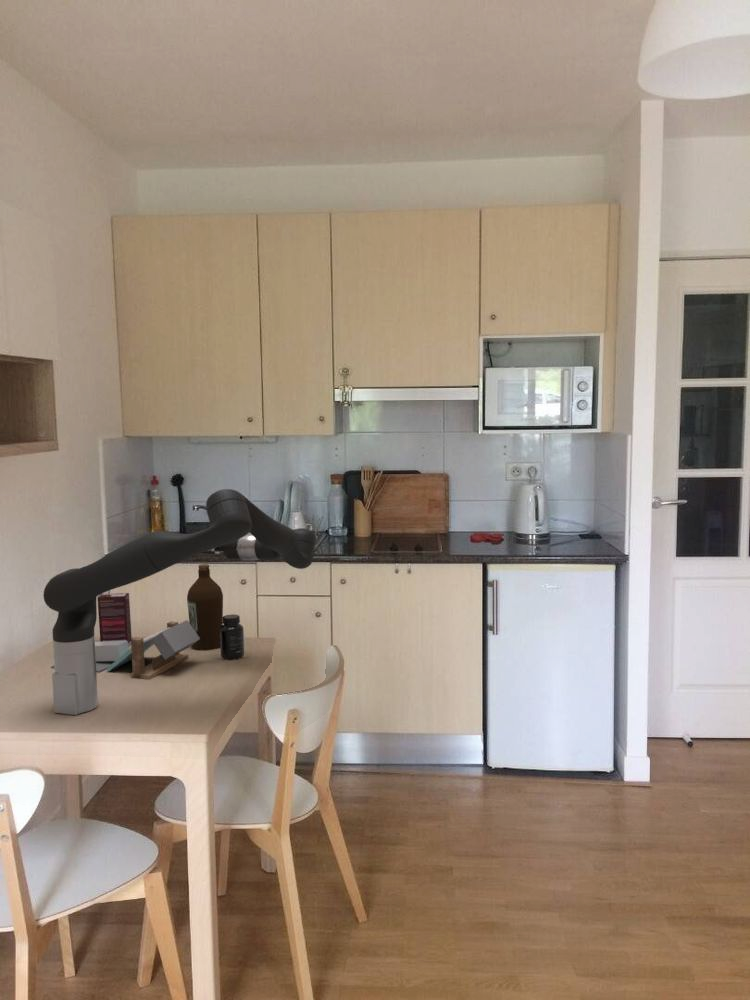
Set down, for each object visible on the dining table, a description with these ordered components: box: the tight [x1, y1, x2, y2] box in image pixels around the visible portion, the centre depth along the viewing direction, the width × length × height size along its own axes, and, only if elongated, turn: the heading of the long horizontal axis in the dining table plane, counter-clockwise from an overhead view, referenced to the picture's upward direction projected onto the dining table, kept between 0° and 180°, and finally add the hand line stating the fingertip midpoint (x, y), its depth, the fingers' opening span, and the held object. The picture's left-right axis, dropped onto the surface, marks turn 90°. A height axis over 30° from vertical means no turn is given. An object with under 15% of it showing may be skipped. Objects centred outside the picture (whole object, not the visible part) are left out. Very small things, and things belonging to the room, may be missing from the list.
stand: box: [129, 621, 189, 680], centre depth 214 cm, size 6×19×10 cm, turn 163°
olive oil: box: [186, 563, 224, 651], centre depth 233 cm, size 11×11×25 cm
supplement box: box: [96, 592, 133, 647], centre depth 237 cm, size 9×5×16 cm, turn 94°
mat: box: [50, 661, 115, 673], centre depth 221 cm, size 16×16×1 cm
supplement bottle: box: [219, 613, 245, 661], centre depth 223 cm, size 7×7×12 cm
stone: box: [95, 641, 130, 661], centre depth 220 cm, size 4×4×14 cm
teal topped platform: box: [105, 619, 200, 673], centre depth 215 cm, size 21×14×8 cm
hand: (192, 544), depth 214 cm, fingers open, 8 cm apart
